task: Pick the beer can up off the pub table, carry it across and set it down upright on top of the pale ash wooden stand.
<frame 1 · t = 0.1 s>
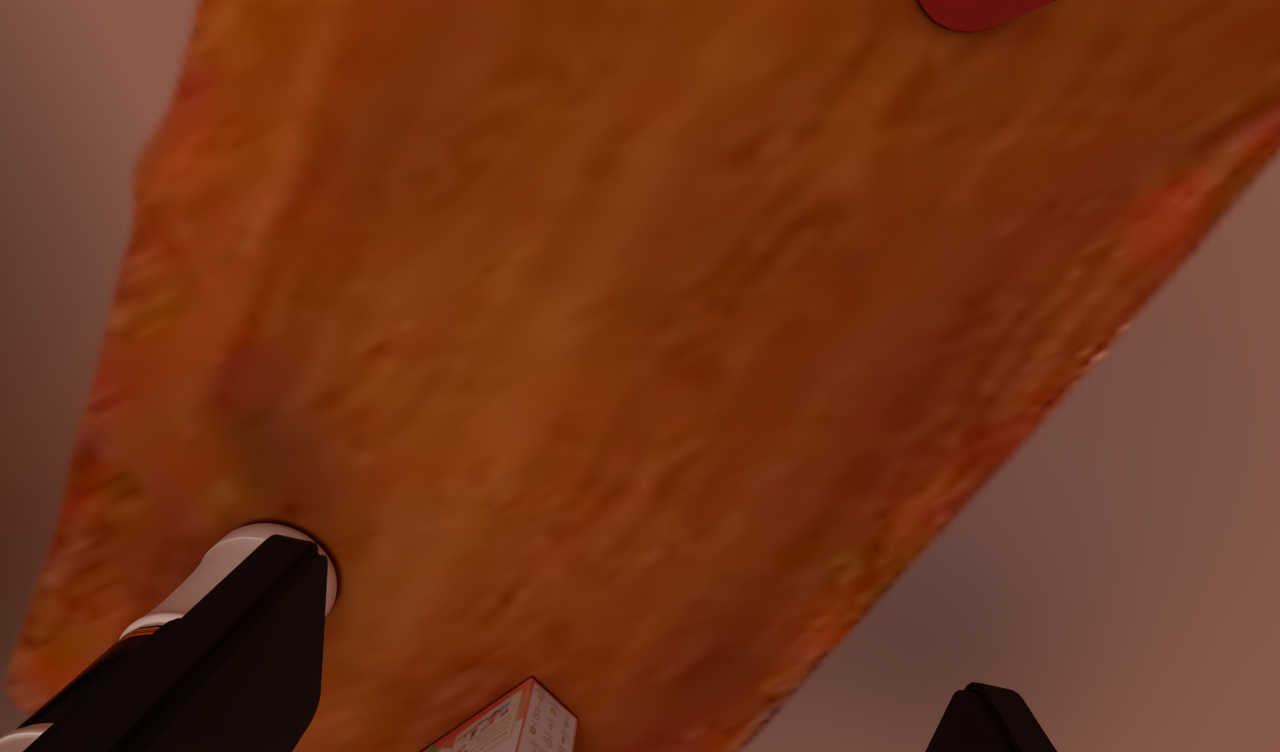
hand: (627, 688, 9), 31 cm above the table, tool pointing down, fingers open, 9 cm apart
vodka: (283, 569, 47), on the table
cracker box: (497, 734, 52), on the table
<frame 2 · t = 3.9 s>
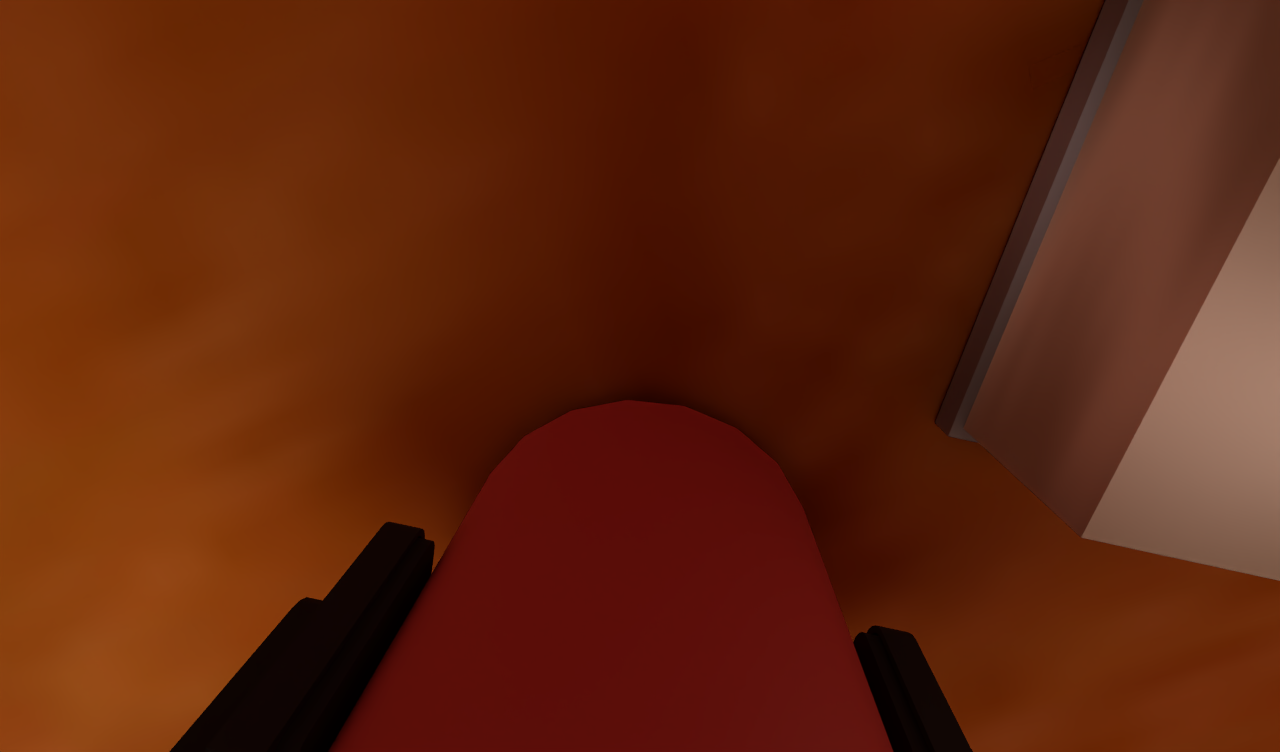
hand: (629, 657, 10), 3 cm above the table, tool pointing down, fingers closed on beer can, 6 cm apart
beer can: (640, 532, 13), on the table, touching gripper
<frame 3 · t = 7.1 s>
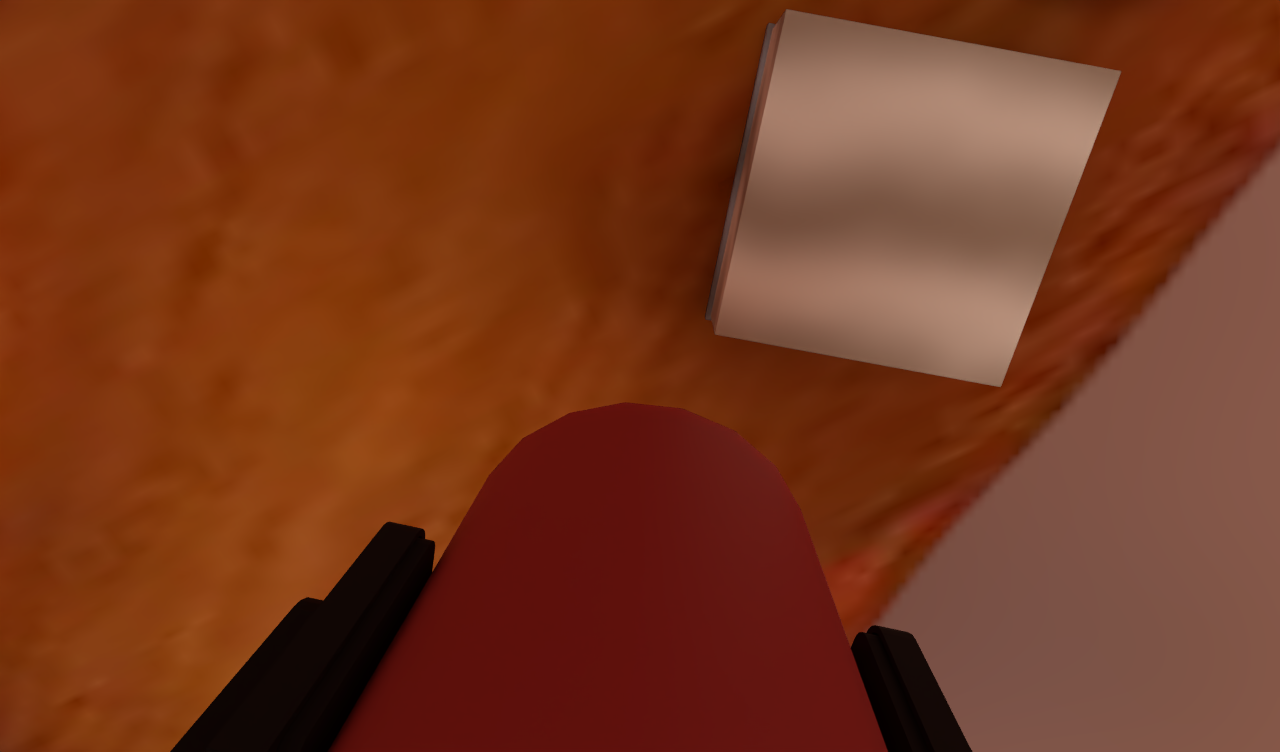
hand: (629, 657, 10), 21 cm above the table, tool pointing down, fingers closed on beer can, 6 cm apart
beer can: (639, 534, 13), point 18 cm above the table, touching gripper
stand: (871, 207, 28), on the table
when the fingers open (9 cm above the table, at t = 10.6 s): beer can drops 2 cm, resting on stand.
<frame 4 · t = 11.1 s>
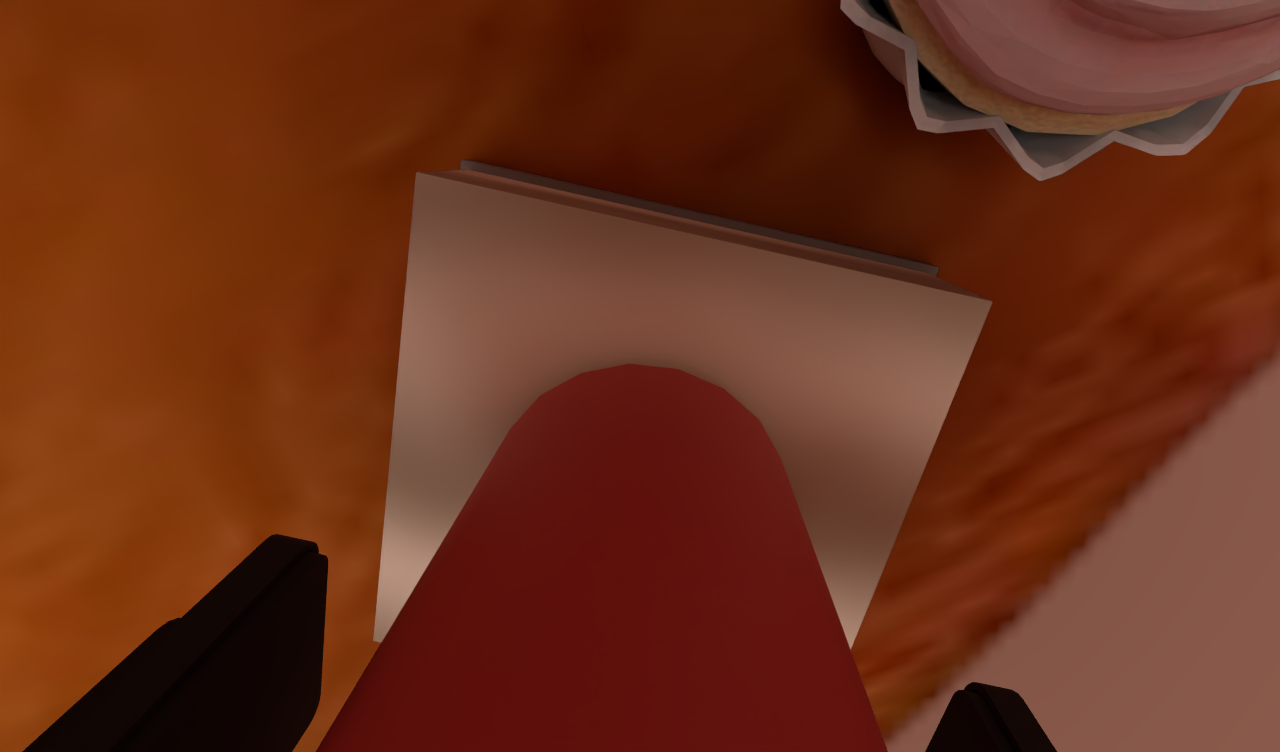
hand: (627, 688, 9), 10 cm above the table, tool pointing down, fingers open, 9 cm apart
beer can: (640, 485, 15), point 4 cm above the table, touching stand
stand: (650, 424, 19), on the table
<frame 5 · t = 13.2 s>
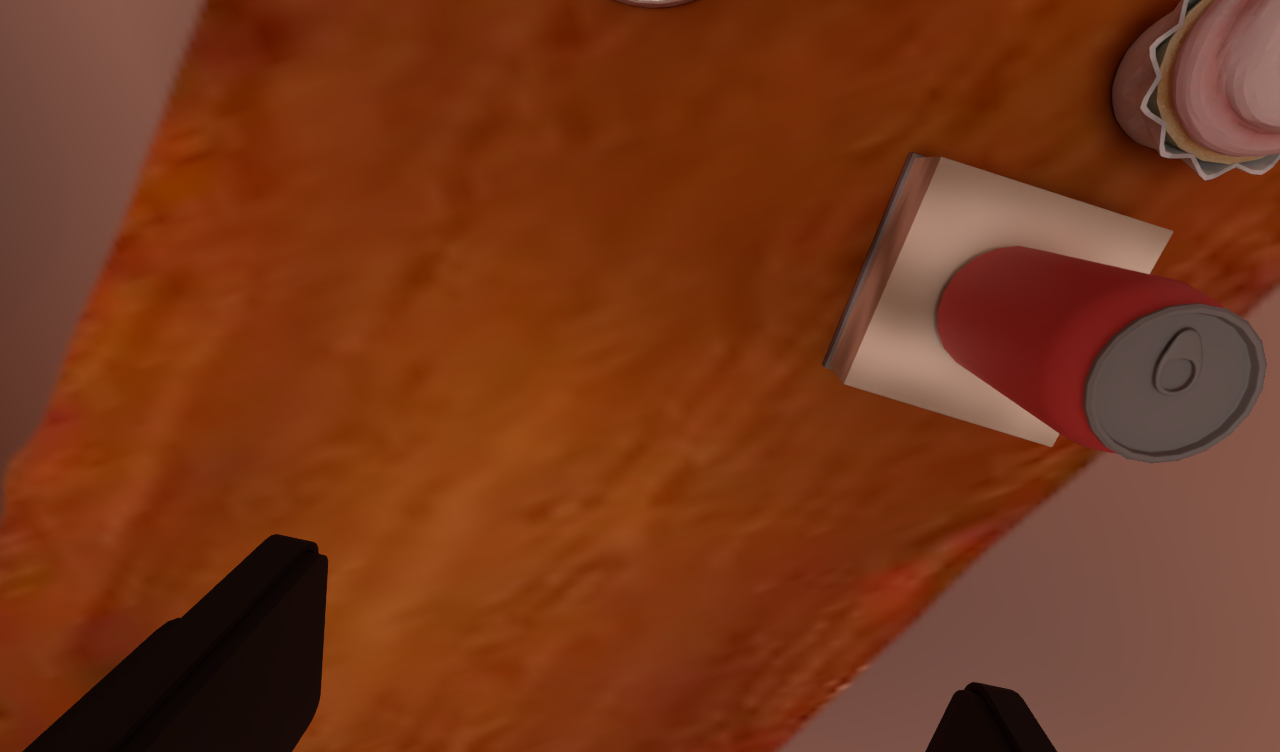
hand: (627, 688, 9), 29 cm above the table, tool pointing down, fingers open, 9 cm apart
cupcake: (1168, 83, 32), on the table
beer can: (996, 309, 32), point 4 cm above the table, touching stand
stand: (965, 296, 36), on the table
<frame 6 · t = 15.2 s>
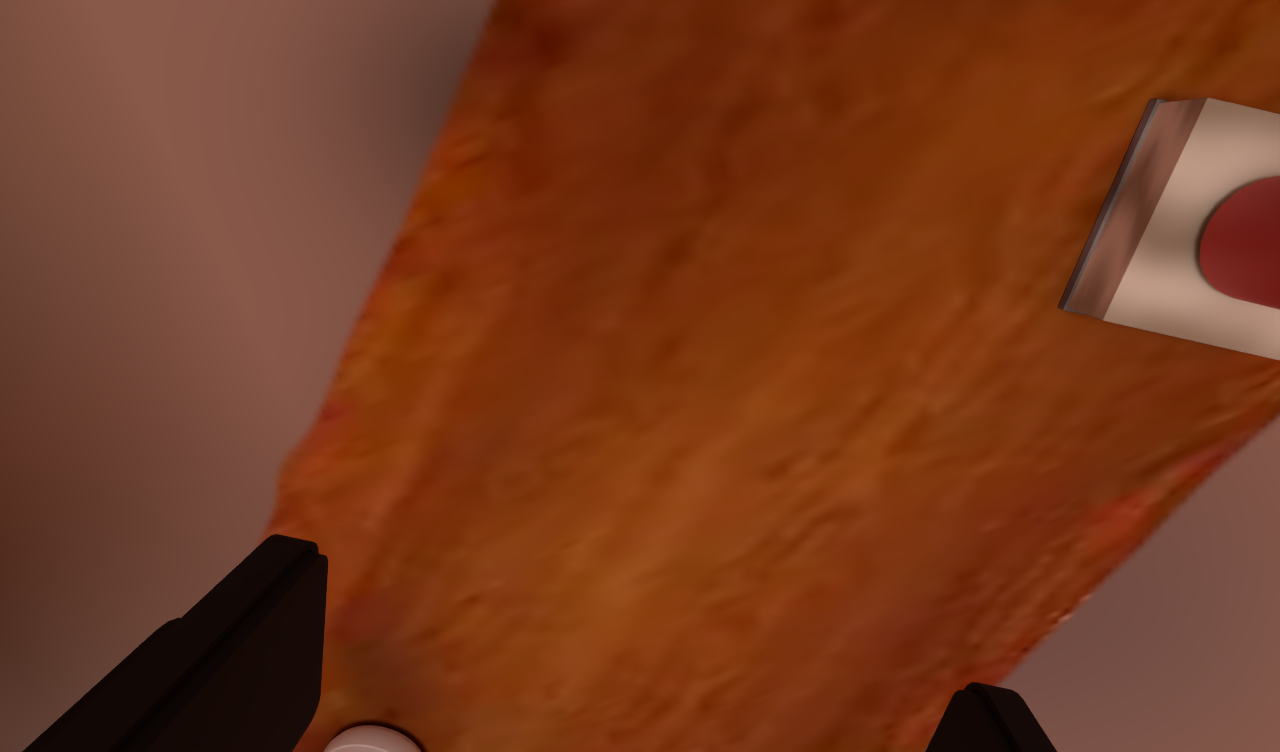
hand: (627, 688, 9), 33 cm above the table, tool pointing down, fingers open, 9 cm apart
beer can: (1253, 237, 34), point 4 cm above the table, touching stand
stand: (1199, 231, 38), on the table
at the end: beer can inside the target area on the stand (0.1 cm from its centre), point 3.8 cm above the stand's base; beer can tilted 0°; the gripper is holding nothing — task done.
